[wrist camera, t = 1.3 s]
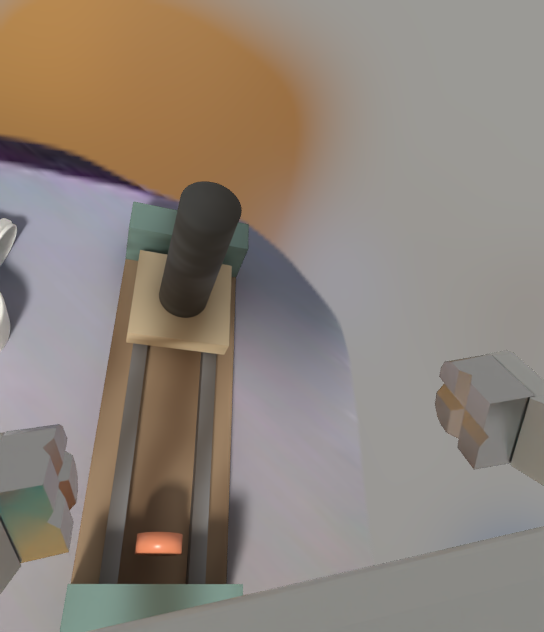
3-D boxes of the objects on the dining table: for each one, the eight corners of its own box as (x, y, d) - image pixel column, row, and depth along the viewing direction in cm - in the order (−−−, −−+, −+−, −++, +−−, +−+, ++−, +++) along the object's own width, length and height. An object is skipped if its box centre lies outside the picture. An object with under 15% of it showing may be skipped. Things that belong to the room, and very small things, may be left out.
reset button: (133, 555, 29) (136, 550, 27) (135, 537, 30) (139, 531, 28) (177, 556, 30) (184, 551, 28) (179, 538, 30) (186, 532, 28)
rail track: (62, 638, 28) (57, 643, 24) (128, 245, 42) (133, 201, 38) (219, 634, 31) (242, 638, 26) (232, 263, 45) (248, 224, 40)
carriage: (125, 342, 35) (140, 242, 26) (138, 261, 39) (154, 147, 29) (224, 354, 37) (271, 265, 27) (227, 276, 40) (270, 173, 31)
